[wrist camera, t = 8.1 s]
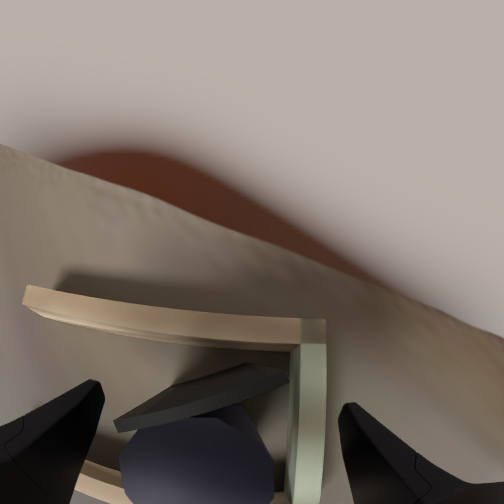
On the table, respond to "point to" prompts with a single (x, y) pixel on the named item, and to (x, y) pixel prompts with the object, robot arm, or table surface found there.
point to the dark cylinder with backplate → (200, 442)
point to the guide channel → (218, 336)
